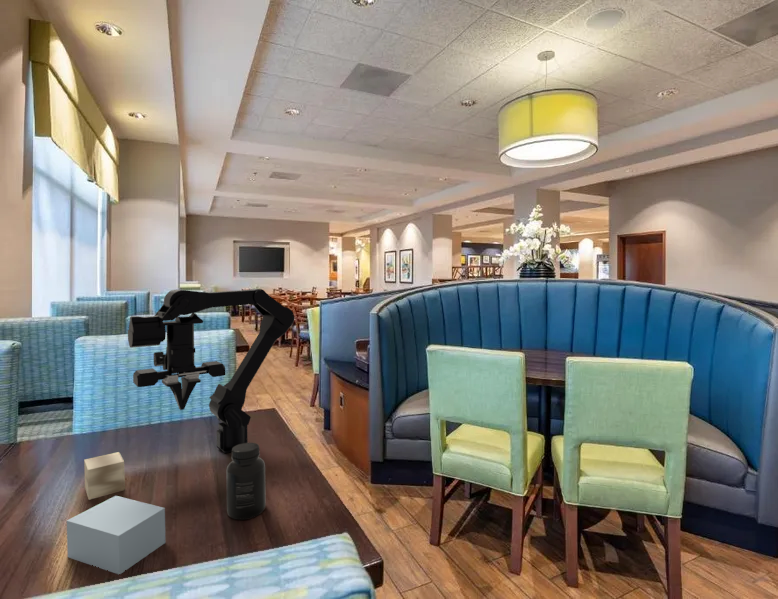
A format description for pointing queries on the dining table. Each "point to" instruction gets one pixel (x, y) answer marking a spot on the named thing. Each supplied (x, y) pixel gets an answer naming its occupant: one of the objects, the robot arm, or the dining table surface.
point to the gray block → (116, 533)
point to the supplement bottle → (245, 482)
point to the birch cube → (104, 475)
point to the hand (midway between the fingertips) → (181, 409)
